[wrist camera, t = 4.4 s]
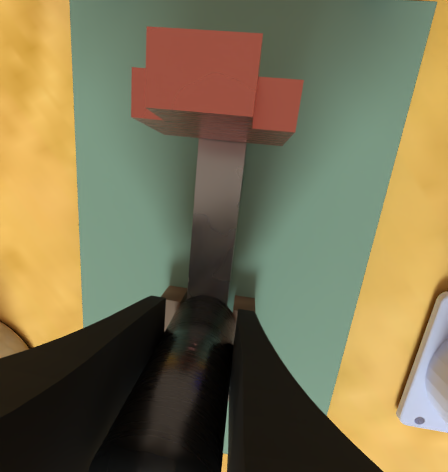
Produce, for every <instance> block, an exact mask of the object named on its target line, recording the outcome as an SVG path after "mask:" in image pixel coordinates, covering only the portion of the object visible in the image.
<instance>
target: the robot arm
mask: <svg viewBox="0 0 448 472" xmlns="http://www.w3.org/2000/svg"><path fill="white" fill-rule="evenodd" d="M165 309H166V298H164V297H158V296H149V297H146V298H144V299H142V300H140V301H138V302H136V303H134V304H132V305H130V306H128V307H126V308H124V309H122V310H121V311H119V312H117V313H115V314H113V315H111V316H109V317H107V318H104V319H102V320H100V321H98V322H96V323H94V324H91V325H89V326H87V327H85V328H83V329H80V330H78V331H76V332H74V333H71V334H69V335H66V336H64V337H61V338H59V339H56V340H53V341H51V342H48V343H45V344H43V345H40V346H37V347H34V348H31V349H28V350H25V351H22V352H19V353H15V354H12V355H9V356H6V357H3V358H0V472H88V471H89V467H90V464H91V462H92V460H93V458H94V456H95V455H96V453H97V451H98V449H99V447H100V446H101V444H102V442H103V440H104V439H105V437H106V435H107V433H108V431H109V430H110V428H111V426H112V424H113V423H114V421H115V419H116V417H117V415H118V414H119V412H120V410H121V408H122V407H123V405H124V403H125V401H126V399H127V398H128V396H129V394H130V392H131V390H132V389H133V387H134V385H135V383H136V382H137V380H138V378H139V376H140V374H141V373H142V371H143V369H144V367H145V366H146V364H147V362H148V360H149V358H150V357H151V355H152V353H153V351H154V350H155V348H156V346H157V344H158V342H159V341H160V339H161V337H162V335H163V334H164V328H165ZM396 414H397V417H398V418H399V420H400V421H401V422H402V423H403V424H405V425H408V426H414V427H419V428H425V429H430V430H436V431H441V432H447V433H448V291H446V292H443V293H441V294H440V295H439V296H438V297H437V299H436V302H435V305H434V308H433V310H432V313H431V316H430V319H429V322H428V324H427V327H426V330H425V333H424V336H423V338H422V341H421V344H420V347H419V350H418V353H417V355H416V358H415V361H414V364H413V367H412V369H411V372H410V375H409V378H408V381H407V383H406V386H405V389H404V392H403V395H402V397H401V400H400V403H399V406H398V409H397V412H396ZM227 472H383V471H382V470H381V469H380V468H379V467H378V466H377V465H376V464H375V463H373V462H372V461H371V460H370V459H369V458H368V457H367V456H366V455H365V454H364V453H363V452H362V451H361V450H360V449H358V448H357V447H356V446H355V445H354V444H353V443H352V442H351V441H350V440H349V439H348V438H347V437H346V436H345V435H344V434H343V433H342V432H341V431H340V430H339V429H338V428H337V427H336V425H335V424H334V423H333V422H332V421H331V420H330V419H329V418H328V417H327V416H326V415H325V414H324V413H323V412H322V411H321V410H320V409H319V407H318V406H317V405H316V404H315V403H314V402H313V401H312V399H311V398H310V397H309V396H308V395H307V394H306V392H305V391H304V390H303V389H302V387H301V386H300V385H299V384H298V382H297V381H296V380H295V378H294V377H293V376H292V374H291V373H290V372H289V370H288V369H287V367H286V366H285V364H284V363H283V361H282V360H281V358H280V357H279V355H278V354H277V352H276V351H275V349H274V347H273V346H272V344H271V342H270V340H269V339H268V337H267V335H266V333H265V331H264V330H263V328H262V326H261V324H260V321H259V319H258V317H257V315H256V313H255V312H254V311H250V310H243V309H238V313H237V321H236V328H235V336H234V343H233V352H232V362H231V376H230V386H229V420H228V464H227Z"/></svg>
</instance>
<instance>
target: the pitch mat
mask: <svg viewBox="0 0 448 472" xmlns="http://www.w3.org/2000/svg"><path fill="white" fill-rule="evenodd" d="M436 5H437V2H433V1H412V0H70V22H71V46H72V70H73V93H74V117H75V140H76V164H77V187H78V211H79V234H80V258H81V281H82V305H83V328H85V327H87V326H89V325H91V324H94V323H96V322H98V321H100V320H102V319H104V318H107V317H109V316H111V315H113V314H115V313H117V312H119V311H121V310H122V309H124V308H126V307H128V306H130V305H132V304H134V303H136V302H138V301H140V300H142V299H144V298H146V297H149V296H158V297H161V296H162V294H163V293H164V292H165V290H166V289H167V288H168V286H176V287H183V288H188V276H189V263H190V249H191V236H192V223H193V209H194V196H195V183H196V169H197V156H198V143H199V138H192V137H181V136H171V135H164V134H162V133H160V132H158V131H156V130H154V129H152V128H150V127H149V126H147V125H145V124H143V123H141V122H139V121H137V120H135V119H133V118H131V78H132V67H138V68H146V31H147V26H149V27H165V28H182V29H198V30H214V31H231V32H247V33H263V39H262V50H261V62H260V73H259V77H271V78H284V79H297V80H304V83H303V89H302V95H301V101H300V107H299V113H298V119H297V125H296V131H295V133H294V134H293V135H292V136H291V137H290V138H289V139H288V141H287V142H286V143H285V144H284V145H283V146H274V145H264V144H253V143H247V150H246V158H245V166H244V174H243V183H242V191H241V199H240V207H239V215H238V224H237V232H236V240H235V248H234V256H233V265H232V273H231V281H230V289H229V298H228V307H229V309H230V310H231V312H232V313H233V307H234V299H235V295H237V296H244V297H250V298H255V313H256V315H257V317H258V319H259V321H260V324H261V326H262V328H263V330H264V331H265V333H266V335H267V337H268V339H269V340H270V342H271V344H272V346H273V347H274V349H275V351H276V352H277V354H278V355H279V357H280V358H281V360H282V361H283V363H284V364H285V366H286V367H287V369H288V370H289V372H290V373H291V374H292V376H293V377H294V378H295V380H296V381H297V382H298V384H299V385H300V386H301V387H302V389H303V390H304V391H305V392H306V394H307V395H308V396H309V397H310V398H311V399H312V401H313V402H314V403H315V404H316V405H317V406H318V407H319V409H320V410H321V411H322V412H323V413H324V414H325V415H326V416H327V412H328V409H329V405H330V401H331V397H332V394H333V390H334V386H335V383H336V379H337V375H338V371H339V368H340V364H341V360H342V356H343V353H344V349H345V345H346V341H347V338H348V334H349V330H350V326H351V323H352V319H353V315H354V311H355V308H356V304H357V300H358V296H359V293H360V289H361V285H362V282H363V278H364V274H365V270H366V267H367V263H368V259H369V255H370V252H371V248H372V244H373V240H374V237H375V233H376V229H377V225H378V222H379V218H380V214H381V210H382V207H383V203H384V199H385V195H386V192H387V188H388V184H389V181H390V177H391V173H392V169H393V166H394V162H395V158H396V154H397V151H398V147H399V143H400V139H401V136H402V132H403V128H404V124H405V121H406V117H407V113H408V109H409V106H410V102H411V98H412V95H413V91H414V87H415V83H416V80H417V76H418V72H419V68H420V65H421V61H422V57H423V53H424V50H425V46H426V42H427V38H428V35H429V31H430V27H431V23H432V20H433V16H434V12H435V8H436ZM228 420H229V401H228V406H227V417H226V427H225V437H224V447H223V453H225V454H228Z"/></svg>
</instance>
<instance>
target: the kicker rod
mask: <svg viewBox="0 0 448 472" xmlns="http://www.w3.org/2000/svg"><path fill="white" fill-rule="evenodd" d="M262 39H263V33H247V32H231V31H214V30H198V29H182V28H165V27H149V26H147V31H146V68H138V67H132V78H131V118H133V119H135V120H137V121H139V122H141V123H143V124H145V125H147V126H149V127H150V128H152V129H154V130H156V131H158V132H160V133H162V134H164V135H171V136H181V137H192V138H199V143H198V156H197V169H196V183H195V196H194V209H193V223H192V236H191V249H190V263H189V276H188V289H187V300H185V301H184V302H182V303H181V304H180V306H179V307H178V309H177V310H176V312H175V314H174V316H173V318H172V319H171V321H170V323H169V325H168V326H167V328H166V330H165V332H164V334H163V335H162V337H161V339H160V341H159V342H158V344H157V346H156V348H155V350H154V351H153V353H152V355H151V357H150V358H149V360H148V362H147V364H146V366H145V367H144V369H143V371H142V373H141V374H140V376H139V378H138V380H137V382H136V383H135V385H134V387H133V389H132V390H131V392H130V394H129V396H128V398H127V399H126V401H125V403H124V405H123V407H122V408H121V410H120V412H119V414H118V415H117V417H116V419H115V421H114V423H113V424H112V426H111V428H110V430H109V431H108V433H107V435H106V437H105V439H104V440H103V442H102V444H101V446H100V447H99V449H98V451H97V453H96V455H95V456H94V458H93V460H92V462H91V464H90V467H89V471H88V472H221V467H222V457H223V447H224V437H225V427H226V417H227V406H228V396H229V386H230V376H231V362H232V352H233V343H234V336H235V319H234V316H233V313H232V312H231V310H230V309H229V307H228V298H229V289H230V281H231V273H232V265H233V256H234V248H235V240H236V232H237V224H238V215H239V207H240V199H241V191H242V183H243V174H244V166H245V158H246V150H247V143H253V144H264V145H274V146H283V145H284V144H285V143H286V142H287V141H288V139H289V138H290V137H291V136H292V135H293V134H294V133H295V131H296V125H297V119H298V113H299V107H300V101H301V95H302V89H303V83H304V80H297V79H284V78H271V77H259V73H260V62H261V50H262Z"/></svg>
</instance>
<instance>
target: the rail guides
mask: <svg viewBox="0 0 448 472" xmlns="http://www.w3.org/2000/svg"><path fill="white" fill-rule="evenodd" d="M187 289H188V288H183V287H176V286H168V288H167V289H166V290H165V292H164V293H163V294H162V296H161V297H164V298H166V309H165V328H164V332H165V330H166V328H167V326H168V325H169V323H170V321H171V319H172V318H173V316H174V314H175V312H176V310H177V309H178V307H179V306H180V304H181V303H182V302H184V301H185V300H187ZM238 309H243V310H250V311H254V312H255V298H250V297H244V296H237V295H235V299H234V307H233V316H234V319H235V328H236V321H237V313H238ZM228 401H229V396H228Z"/></svg>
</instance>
